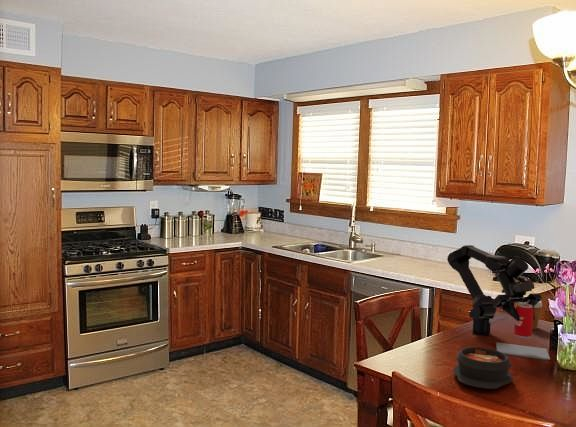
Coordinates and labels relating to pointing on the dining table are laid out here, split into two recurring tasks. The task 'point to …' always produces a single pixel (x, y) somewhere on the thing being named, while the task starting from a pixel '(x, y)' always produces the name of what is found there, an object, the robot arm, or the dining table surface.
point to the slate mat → (523, 351)
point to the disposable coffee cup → (536, 314)
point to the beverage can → (524, 320)
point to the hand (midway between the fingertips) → (526, 320)
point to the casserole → (483, 368)
